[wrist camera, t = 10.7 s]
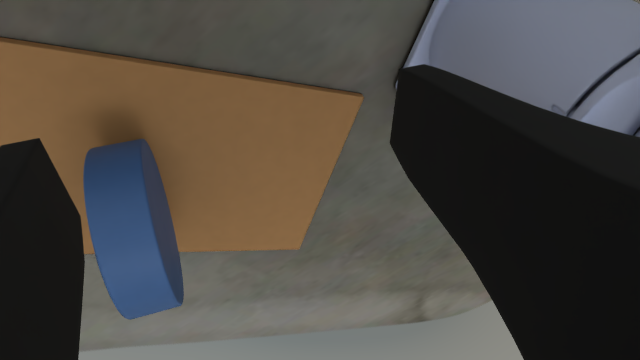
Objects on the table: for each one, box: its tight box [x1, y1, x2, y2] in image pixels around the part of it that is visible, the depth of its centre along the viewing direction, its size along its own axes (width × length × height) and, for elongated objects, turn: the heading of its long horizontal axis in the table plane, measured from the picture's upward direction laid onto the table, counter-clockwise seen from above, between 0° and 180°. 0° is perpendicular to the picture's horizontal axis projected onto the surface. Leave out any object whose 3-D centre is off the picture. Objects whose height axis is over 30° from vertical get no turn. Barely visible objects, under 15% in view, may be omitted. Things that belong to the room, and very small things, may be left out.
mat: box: [0, 37, 364, 254], centre depth 21 cm, size 20×11×1 cm, turn 71°
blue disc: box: [83, 139, 184, 319], centre depth 19 cm, size 2×7×7 cm, turn 1°
